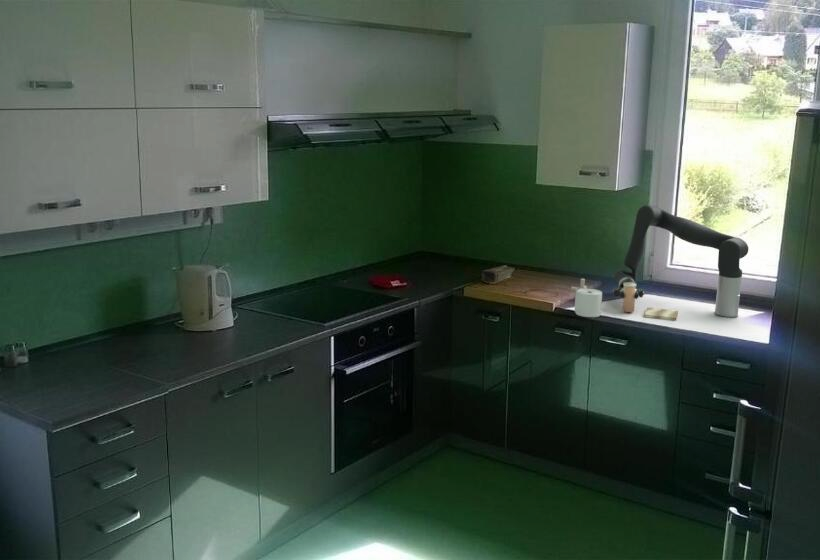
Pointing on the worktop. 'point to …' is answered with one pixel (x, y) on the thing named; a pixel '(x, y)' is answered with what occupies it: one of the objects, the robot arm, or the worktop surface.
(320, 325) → the worktop surface
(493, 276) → the beverage carton
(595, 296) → the toilet tissue
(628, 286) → the terracotta jar
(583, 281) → the pipe connector
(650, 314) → the birch board
